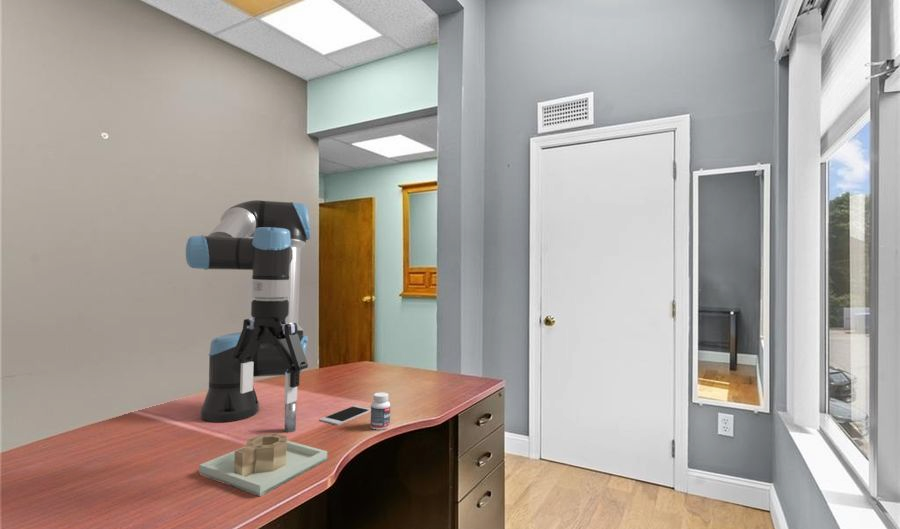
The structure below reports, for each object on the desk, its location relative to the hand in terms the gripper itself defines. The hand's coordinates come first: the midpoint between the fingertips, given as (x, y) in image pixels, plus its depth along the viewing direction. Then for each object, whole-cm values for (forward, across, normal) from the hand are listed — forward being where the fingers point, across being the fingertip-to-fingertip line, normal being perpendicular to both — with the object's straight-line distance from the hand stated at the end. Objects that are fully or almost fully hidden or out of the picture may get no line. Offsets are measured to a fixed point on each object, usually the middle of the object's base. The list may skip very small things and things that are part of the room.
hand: (267, 396), depth 94 cm
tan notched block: (+14, 0, -2) cm, 14 cm away
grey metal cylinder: (+15, -12, +18) cm, 26 cm away
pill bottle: (+16, +8, +32) cm, 36 cm away
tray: (+15, 0, 0) cm, 15 cm away
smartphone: (+16, -6, +34) cm, 39 cm away
